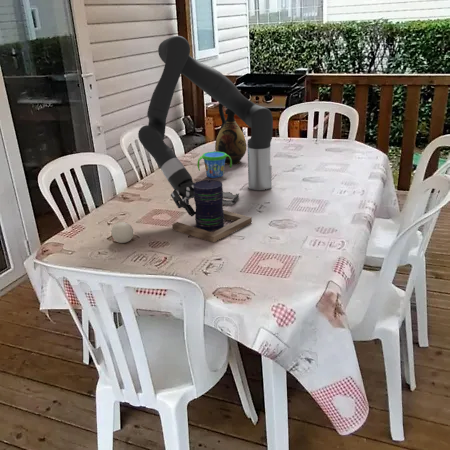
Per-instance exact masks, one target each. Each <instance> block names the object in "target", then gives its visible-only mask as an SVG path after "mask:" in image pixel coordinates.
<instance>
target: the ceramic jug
mask: <svg viewBox="0 0 450 450" xmlns="http://www.w3.org/2000/svg"><path fill="white" fill-rule="evenodd" d="M223 107H224V106H223V105H222V104H220V103H219V104H218V113H219V117H220V121H221V125H220V129H219V132H218V135H217V136H216V139H215V144H214V149H215V152H224V153H226V154H227V155H229V156H230V158H231V160H232V166H233V165H239V164H240V163H241V160H242V159H243V158H244V156H245V154H246V153H247V141H246V138H245V135H244V132H243V131H242V129H241V127H240V126H239V124H238V123H237V121H236V120H235V115H236V114H235V113H234V112H233V111H232V110H230V109H228V108H227V107H226V110H225V112H224V109H223ZM224 113H225V114H224ZM225 115H227V116H226V118H225ZM230 158H229V157H228V156H227V157H226V160H225V165H227V166H228V165H229V166H230Z"/></svg>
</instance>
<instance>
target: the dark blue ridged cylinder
mask: <svg viewBox="0 0 450 450" xmlns="http://www.w3.org/2000/svg"><path fill="white" fill-rule="evenodd" d="M193 186H194V198H193V201H194V203H195V205H194V206H195V210H194V211H195V215H194V216H195V218H194V219H195V227H196V228H199V229H203V230H206V231H209V232H215V231H217V230H219V229H221V228H223V227H225V223H224V222H225V219H224V211H223V210H224V208H223V205H224V204H223V203H222V200H224V197H223V192H224V190H223V182H222V181H220V180H217V179H203V180H199V181H196V182H194V185H193Z"/></svg>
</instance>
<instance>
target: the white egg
mask: <svg viewBox="0 0 450 450" xmlns="http://www.w3.org/2000/svg"><path fill="white" fill-rule="evenodd" d="M110 232H111V237H112V238H113V240H114V242H117V243H119V244H125V243H128V242H130V241H131V239H133V237H134V234H135V233H134V232H135V231H134V228H133V226H132V224H130V223H129V222H125V221H119V222H116V223H114V224H113V225H112V227H111V230H110Z"/></svg>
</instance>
